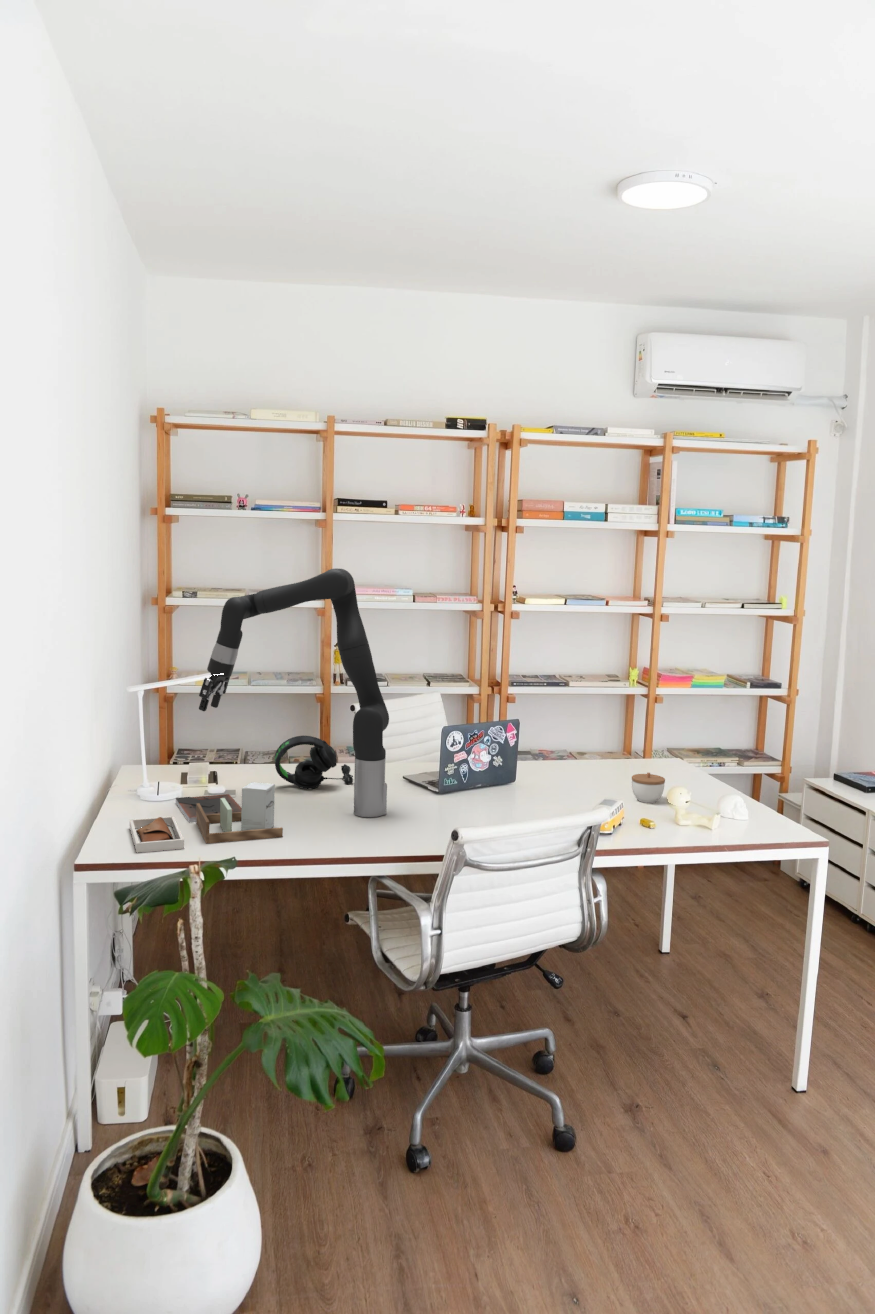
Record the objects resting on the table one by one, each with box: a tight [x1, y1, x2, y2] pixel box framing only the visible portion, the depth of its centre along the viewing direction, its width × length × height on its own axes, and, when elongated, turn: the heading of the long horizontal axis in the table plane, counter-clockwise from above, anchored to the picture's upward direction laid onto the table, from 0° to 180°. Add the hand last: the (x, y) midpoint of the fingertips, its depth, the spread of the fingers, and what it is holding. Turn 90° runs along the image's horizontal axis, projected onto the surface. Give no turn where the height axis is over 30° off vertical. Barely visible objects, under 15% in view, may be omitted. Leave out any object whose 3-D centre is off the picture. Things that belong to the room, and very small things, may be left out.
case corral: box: [129, 815, 185, 854], centre depth 262 cm, size 12×22×2 cm, turn 22°
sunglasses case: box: [136, 816, 174, 842], centre depth 262 cm, size 18×7×7 cm, turn 24°
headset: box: [274, 735, 354, 790], centre depth 321 cm, size 18×14×29 cm
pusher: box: [219, 798, 233, 832], centre depth 270 cm, size 1×12×8 cm, turn 22°
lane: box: [195, 803, 284, 844], centre depth 272 cm, size 21×19×6 cm
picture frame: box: [175, 793, 242, 824], centre depth 290 cm, size 16×2×22 cm
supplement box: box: [240, 781, 276, 831], centre depth 273 cm, size 7×7×13 cm
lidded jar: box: [631, 772, 666, 804], centre depth 318 cm, size 11×11×9 cm
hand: (208, 708), depth 297 cm, fingers open, 8 cm apart
